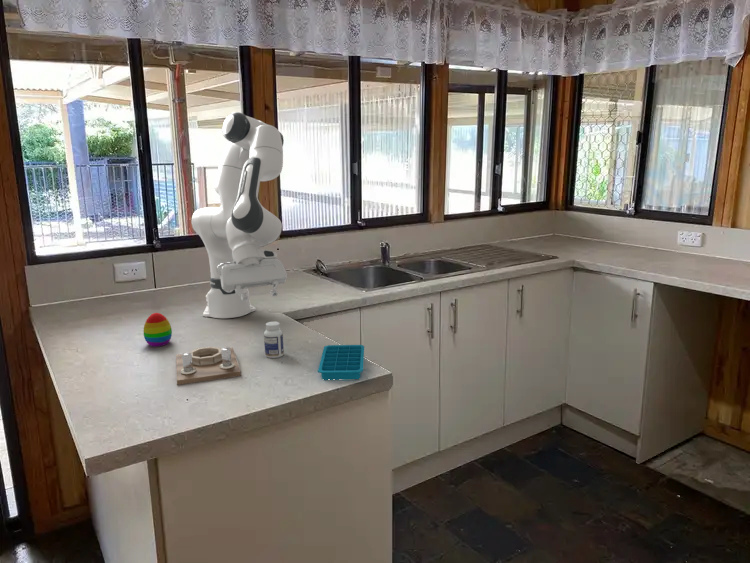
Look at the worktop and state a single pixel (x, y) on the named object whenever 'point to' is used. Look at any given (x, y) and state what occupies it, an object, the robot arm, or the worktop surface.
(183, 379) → the board
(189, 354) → the steel pins
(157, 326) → the decorative egg
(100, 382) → the worktop surface
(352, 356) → the ice cube tray
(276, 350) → the pill bottle
